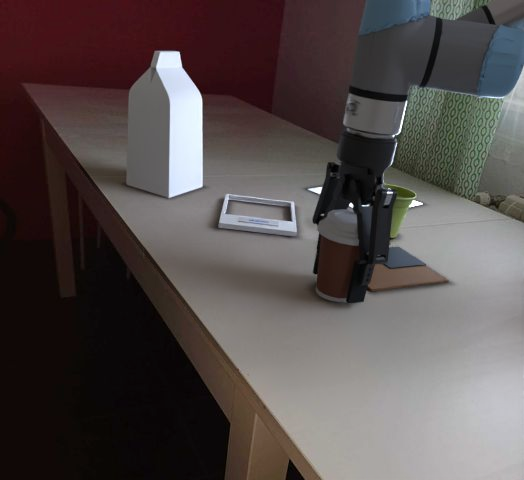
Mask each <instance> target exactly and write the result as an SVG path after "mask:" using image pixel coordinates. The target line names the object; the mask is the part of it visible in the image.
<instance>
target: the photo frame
mask: <svg viewBox="0 0 524 480" xmlns="http://www.w3.org/2000/svg"><path fill="white" fill-rule="evenodd" d="M229 200H230V201H238V202H246V203H256V204H264V205H271V206H280V207H287V208H290V218H291V221H288V220H280V219H271V218H265V217H264V218H263V217H257V216H248V215H247V216H246V215H237V214H230V213H226V212H227V208H228V203H229ZM295 208H296V207H295V202H294V201H289V200H288V201H287V200H282V199H281V200H279V199H273V198H272V199H271V198H265V197H264V198H263V197H255V196H247V195H239V194H229V193H226V194H225V196H224V201H223V205H222V209H221V212H220V217H219V221H218V228H219V229H228V230H235V231H245V232H254V233H263V234H270V235H278V236H287V237H297V234H298V228H297V227H298V226H297V218H296V209H295Z"/></svg>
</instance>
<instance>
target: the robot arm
mask: <svg viewBox="0 0 524 480" xmlns="http://www.w3.org/2000/svg"><path fill="white" fill-rule="evenodd" d="M430 8H431V0H365V4H364V8H363V12H362V15H361V16H362V17H361V21H360V24H359V25H360V26H359V31H358V33H357V40H356V44H355V51H354V57H353V61H352V63H353V64H352V70H351V74H350V81H349V86H348V94H347V99H346V103H345V110H344V114H343V119H342V124H343V126H344V127H345V128H344V129H342V130H341V131H340V133H339V139H338V144H337V150H336V158H337V159H338V160H339V161H329V162H327V164H326V168H325V169H326V171H325V178H324V181H323V184H322V186H321V187H322V190H321V193H320V194H319V196H318V200H317V202H316V206H315V209H314V212H313V216H312V223H313V224H314V225H317V227H318V225H319V222H320V221H321V220H324V219H325V218H326V217H327V215H328V212H330V211H332V210H339V209H349V207H350V206H349V205H350V203H352V204H353V208H352V210H353V211H354V213H356V215H357V228H358V239H359V260H355V262H354V266H353V271H352V275H351V280H350V284H349V289H348V293H347V298H346V302H345V303H347V304H349V305H350V304H356V303H363V302H365V298H366V293H367V289H368V288H367V286H368V284H370V282H371V278H372V274H373V270H374V266H375V264H385V263H387V261H388V253H389V247H390V243H391V237H390V233H391V223H392V212H393V206H394V203H395V200H396V197H397V190H396V189H388V188H387V187H386V186H384V184H385V181H384V176H385V175H384V174H385V171H386V170H387V169H388V168H390V167H391V166H392V165H393V163H394V159H395V153H396V150H397V145H398V140H397V137H395V136H397V135H399V134H400V133H401V131H402V126H403V122H404V117H405V114H406V112H405V111H406V108H407V104H408V99H409V93H410V90H411V89H412V87H416V88H419V89H424V88H426V89H432V90H437V91H441V92H447V93H454V94H461V95H469V96H473V97H477V98H478V99H482V98H493V99H503V98H506V97H508V95H510V93H512V91H513V90H514V88H515V87H516V85H517V84H518V81H519V80H520V77H521V74H522V72H523V69H524V0H491V1H488V2H486V3H484V4H483V5H481V6H480V7H477V8H475V9H473V10H471V11H469V12H467V13H465V14H463V15H461V16H459V17H458V18H456V19H448V18H441V17H438V16H436V15H431V9H430ZM369 203H370V206H362V205H368V204H369ZM320 242H321V234H320V233H319V232H318V237H317V243H316V253H315V258H314V263H313V269H312V273H313V274H314V275H316V276H317V272H318V262H319V252H320ZM368 252H369V253H368ZM367 253H368V255H367Z"/></svg>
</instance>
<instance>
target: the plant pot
mask: <svg viewBox="0 0 524 480" xmlns="http://www.w3.org/2000/svg"><path fill="white" fill-rule="evenodd" d="M384 186H386V187H387V188H388V189H396V190H397V197H396V200H395V203H394V206H393V212H392V223H391V233H390V239H395V238H397V236H398V235H399V232H400V230H401V227H402V225H403V222H404V220H405V218H406V215H407V213H408V211H409V208H410V207H409V206H410V205H411V204H412V202H413V200H414V201H415V200H416V199H417V196H418V195H417V193H416V192H415V191H413V190H411V189H409V188H406V187H404V186H399V185H395V184H388V183H384ZM369 206H370V203H369Z"/></svg>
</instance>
